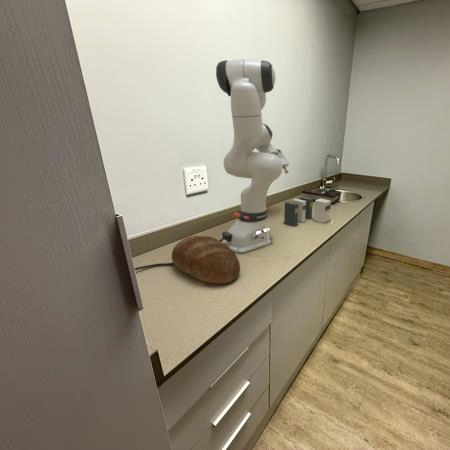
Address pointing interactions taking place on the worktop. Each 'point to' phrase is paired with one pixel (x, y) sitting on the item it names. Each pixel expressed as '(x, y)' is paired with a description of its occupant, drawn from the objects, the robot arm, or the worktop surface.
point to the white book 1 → (301, 209)
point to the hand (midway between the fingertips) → (282, 173)
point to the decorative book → (322, 194)
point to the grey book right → (308, 206)
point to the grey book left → (291, 213)
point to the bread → (206, 259)
